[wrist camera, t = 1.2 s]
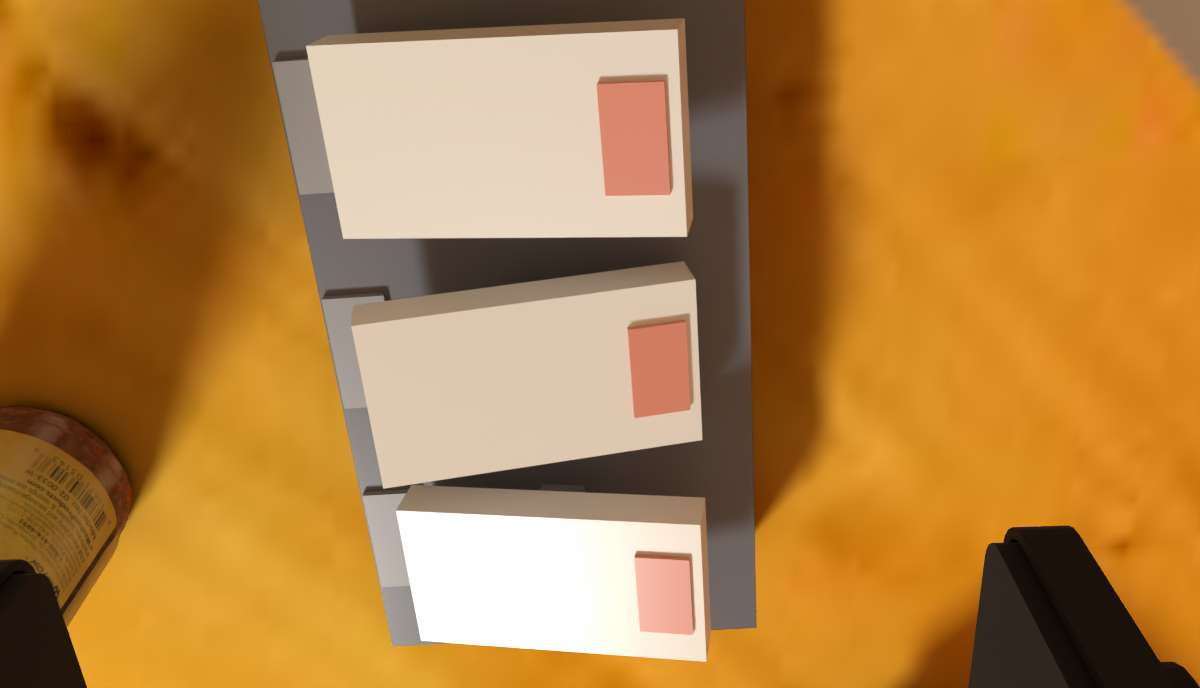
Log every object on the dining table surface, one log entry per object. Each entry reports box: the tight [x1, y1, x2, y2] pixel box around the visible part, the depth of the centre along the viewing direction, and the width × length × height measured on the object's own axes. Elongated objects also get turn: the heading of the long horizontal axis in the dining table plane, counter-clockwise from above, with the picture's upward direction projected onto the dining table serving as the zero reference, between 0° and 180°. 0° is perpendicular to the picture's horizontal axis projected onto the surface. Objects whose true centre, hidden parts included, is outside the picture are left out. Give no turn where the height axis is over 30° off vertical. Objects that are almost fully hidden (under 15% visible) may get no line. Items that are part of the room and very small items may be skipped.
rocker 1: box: [306, 18, 693, 239], centre depth 24 cm, size 4×8×2 cm, turn 95°
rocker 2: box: [396, 484, 711, 662], centre depth 30 cm, size 4×8×2 cm, turn 94°
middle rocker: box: [351, 261, 702, 489], centre depth 27 cm, size 4×8×2 cm, turn 94°
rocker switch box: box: [258, 0, 757, 646], centre depth 30 cm, size 20×11×4 cm, turn 5°
